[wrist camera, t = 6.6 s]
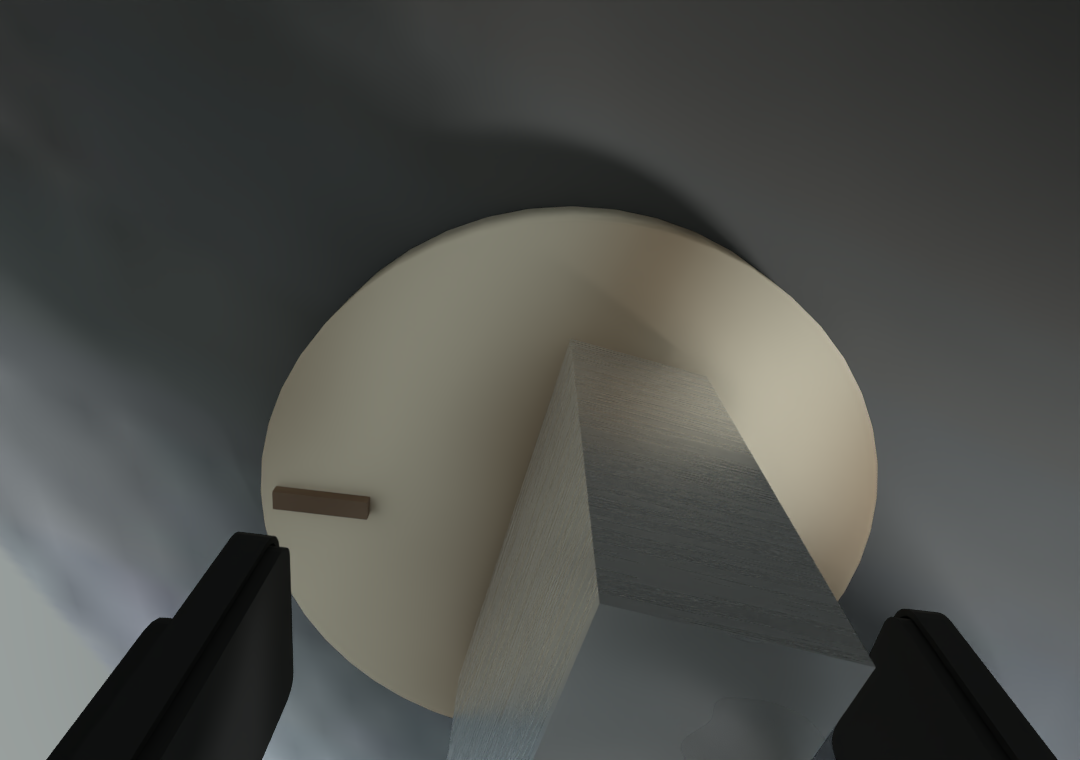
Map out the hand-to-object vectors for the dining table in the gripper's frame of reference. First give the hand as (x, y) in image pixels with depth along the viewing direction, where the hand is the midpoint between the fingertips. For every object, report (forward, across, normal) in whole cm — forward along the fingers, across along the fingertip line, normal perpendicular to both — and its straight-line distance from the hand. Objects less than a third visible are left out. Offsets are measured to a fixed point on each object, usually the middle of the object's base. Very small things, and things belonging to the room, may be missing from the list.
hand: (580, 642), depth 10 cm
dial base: (+4, 0, 0) cm, 4 cm away
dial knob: (+2, 0, +1) cm, 3 cm away
